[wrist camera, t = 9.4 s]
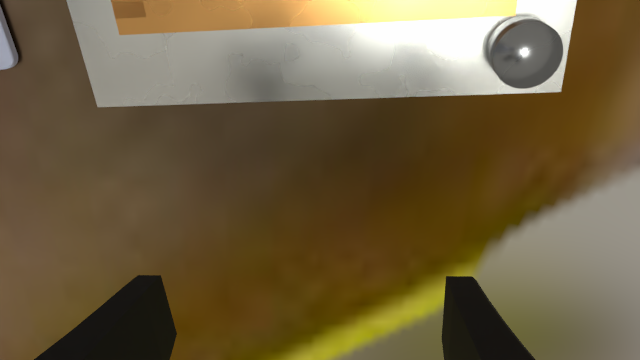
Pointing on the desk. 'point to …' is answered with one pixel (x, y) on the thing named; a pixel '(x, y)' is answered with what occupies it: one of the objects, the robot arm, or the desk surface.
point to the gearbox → (318, 49)
